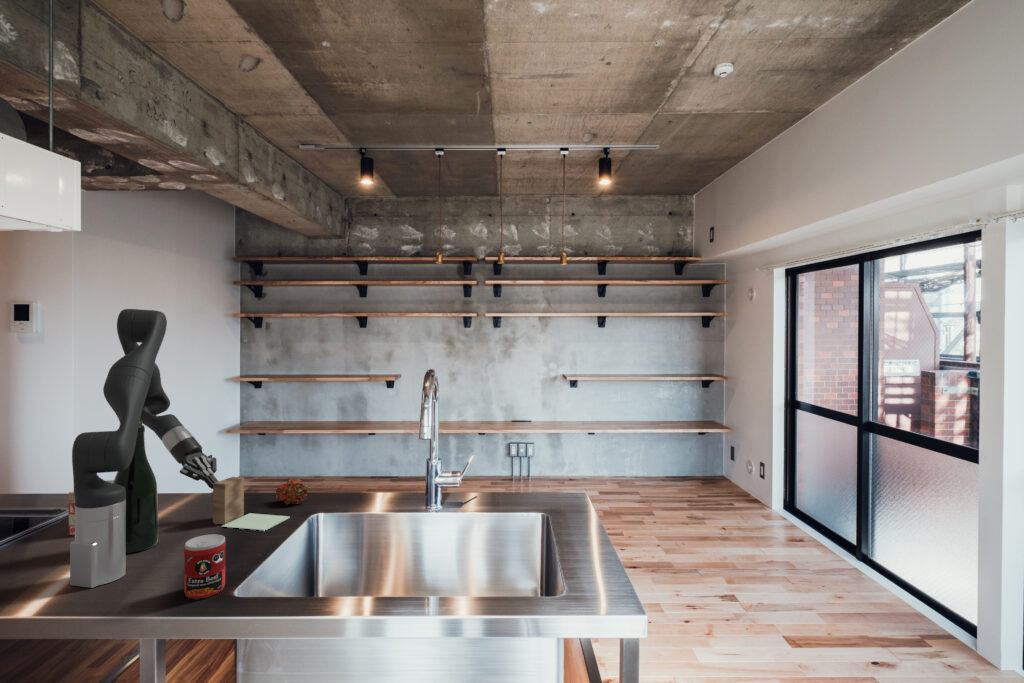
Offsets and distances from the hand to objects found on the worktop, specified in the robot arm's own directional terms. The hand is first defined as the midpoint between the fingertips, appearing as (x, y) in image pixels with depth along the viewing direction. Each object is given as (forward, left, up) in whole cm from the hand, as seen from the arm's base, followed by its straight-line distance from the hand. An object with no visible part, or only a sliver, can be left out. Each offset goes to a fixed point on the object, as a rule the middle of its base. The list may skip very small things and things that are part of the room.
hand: (216, 486), depth 165 cm
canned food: (-41, -33, -10) cm, 54 cm away
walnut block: (0, -4, -10) cm, 11 cm away
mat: (0, -14, -10) cm, 17 cm away
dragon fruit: (+20, -12, -10) cm, 25 cm away
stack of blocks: (-10, +30, -10) cm, 33 cm away
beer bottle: (-24, +4, -10) cm, 26 cm away
